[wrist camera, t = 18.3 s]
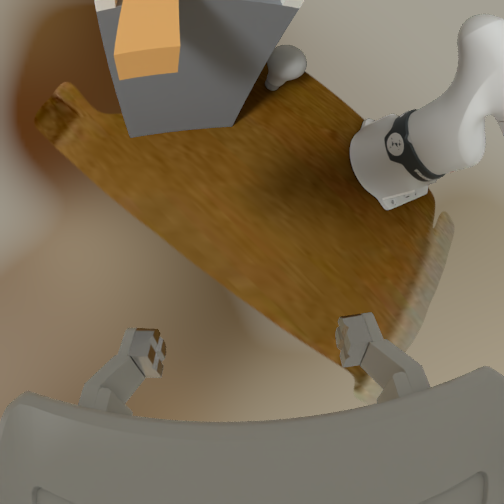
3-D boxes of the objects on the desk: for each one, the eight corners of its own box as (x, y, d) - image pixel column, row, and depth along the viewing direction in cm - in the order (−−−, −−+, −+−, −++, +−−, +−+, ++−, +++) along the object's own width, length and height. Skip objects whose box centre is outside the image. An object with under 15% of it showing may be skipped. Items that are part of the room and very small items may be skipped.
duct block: (222, 69, 40) (275, -56, 14) (231, 126, 41) (306, -3, 14) (130, 77, 36) (117, -56, 10) (130, 137, 36) (93, -2, 10)
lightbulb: (270, 69, 43) (293, 33, 32) (292, 92, 44) (320, 59, 33) (246, 82, 41) (266, 44, 31) (269, 106, 42) (295, 71, 32)
